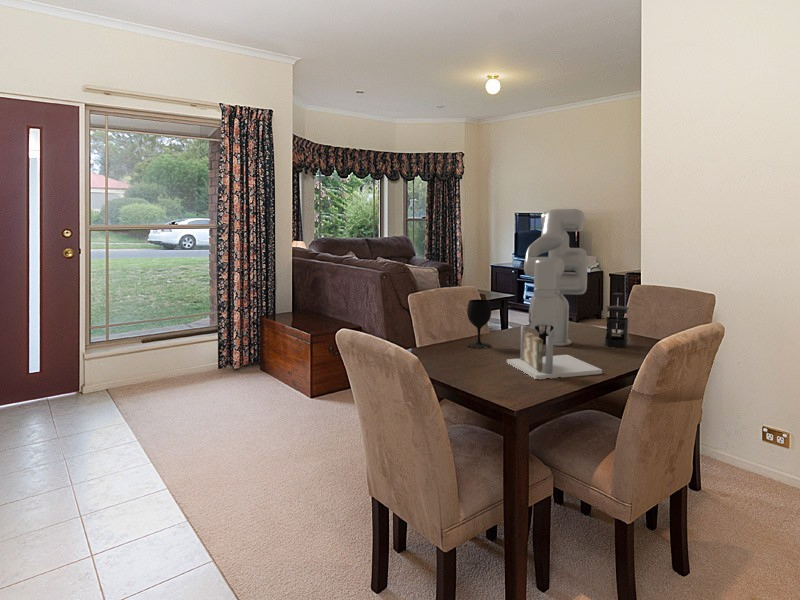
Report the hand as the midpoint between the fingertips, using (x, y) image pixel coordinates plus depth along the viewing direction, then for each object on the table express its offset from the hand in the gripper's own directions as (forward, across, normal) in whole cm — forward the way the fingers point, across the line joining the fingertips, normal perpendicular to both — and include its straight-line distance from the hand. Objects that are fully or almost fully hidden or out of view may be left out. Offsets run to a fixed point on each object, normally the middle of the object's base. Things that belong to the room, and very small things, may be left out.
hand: (543, 344), depth 199 cm
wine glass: (+10, +17, -42) cm, 47 cm away
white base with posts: (+10, -5, -4) cm, 12 cm away
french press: (+11, -42, -39) cm, 59 cm away
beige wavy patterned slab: (+8, +3, -2) cm, 9 cm away
